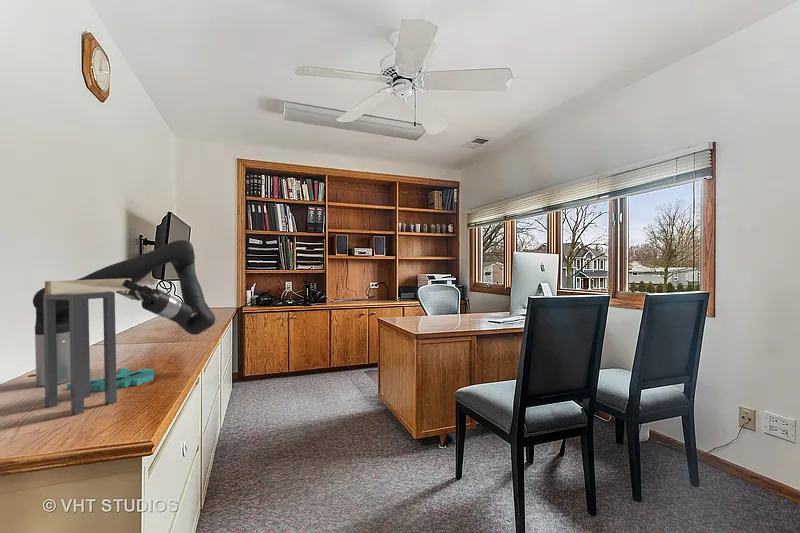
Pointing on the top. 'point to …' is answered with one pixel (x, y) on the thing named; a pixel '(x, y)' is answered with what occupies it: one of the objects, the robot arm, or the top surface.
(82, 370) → the stand
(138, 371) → the alien figure
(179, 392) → the top surface
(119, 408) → the top surface
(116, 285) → the block
